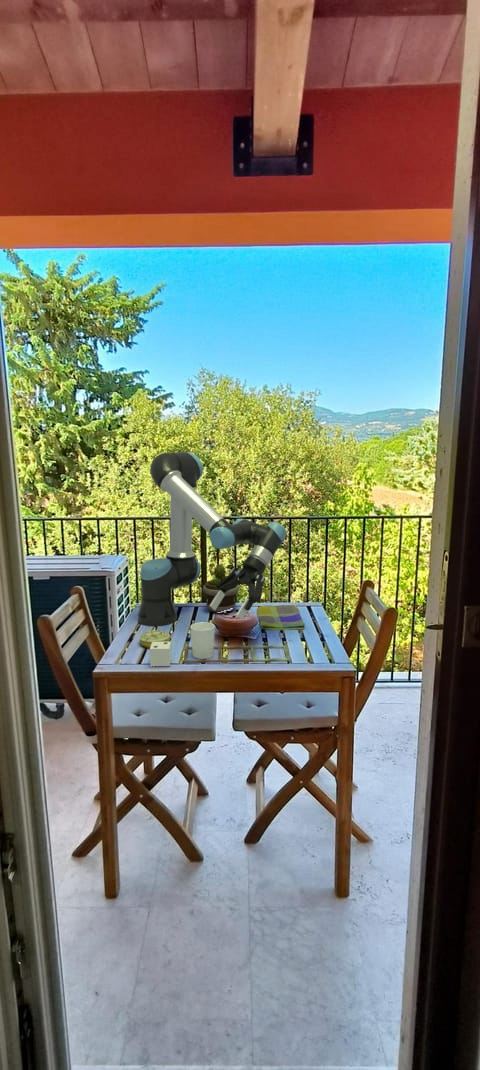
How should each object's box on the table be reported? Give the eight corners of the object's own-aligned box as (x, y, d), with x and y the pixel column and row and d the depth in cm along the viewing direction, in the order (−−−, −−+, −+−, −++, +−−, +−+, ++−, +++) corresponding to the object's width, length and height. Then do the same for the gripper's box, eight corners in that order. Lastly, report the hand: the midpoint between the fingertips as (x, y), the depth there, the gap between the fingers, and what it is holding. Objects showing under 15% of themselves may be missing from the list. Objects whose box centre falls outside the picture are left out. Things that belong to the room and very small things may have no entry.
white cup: (205, 661, 171) (205, 631, 169) (186, 656, 175) (185, 627, 173) (219, 653, 177) (219, 624, 176) (200, 648, 181) (199, 620, 180)
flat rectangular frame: (183, 662, 170) (183, 661, 170) (185, 648, 182) (185, 646, 182) (290, 661, 171) (290, 659, 171) (285, 647, 183) (285, 645, 183)
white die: (150, 667, 167) (149, 648, 166) (152, 659, 173) (152, 641, 171) (169, 667, 167) (169, 648, 166) (171, 659, 173) (171, 641, 172)
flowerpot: (240, 615, 216) (240, 567, 212) (202, 616, 215) (201, 567, 211) (238, 604, 230) (238, 559, 227) (202, 605, 229) (202, 559, 226)
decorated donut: (166, 636, 193) (165, 626, 192) (173, 647, 183) (173, 636, 183) (137, 640, 189) (136, 630, 189) (143, 651, 180) (142, 640, 179)
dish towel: (258, 631, 200) (258, 624, 199) (256, 610, 224) (256, 604, 223) (305, 631, 200) (306, 623, 199) (298, 610, 224) (298, 604, 223)
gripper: (289, 574, 180) (257, 627, 172) (238, 562, 198) (208, 610, 190) (278, 561, 175) (245, 615, 168) (227, 549, 193) (195, 598, 186)
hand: (225, 612), depth 179 cm, fingers open, 13 cm apart
